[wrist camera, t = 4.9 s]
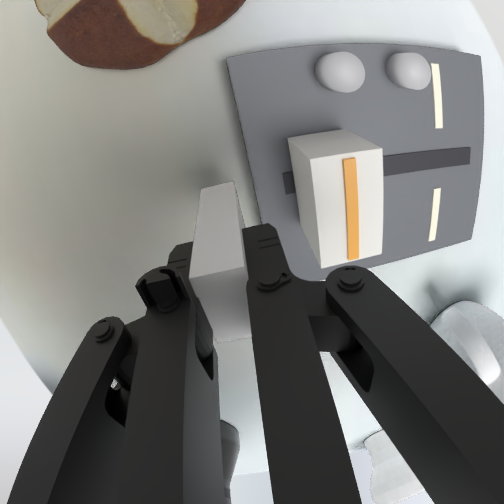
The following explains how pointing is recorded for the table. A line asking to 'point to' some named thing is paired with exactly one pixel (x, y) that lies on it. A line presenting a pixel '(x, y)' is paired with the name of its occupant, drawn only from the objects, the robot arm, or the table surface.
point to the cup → (389, 472)
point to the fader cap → (339, 194)
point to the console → (368, 137)
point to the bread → (129, 28)
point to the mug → (475, 340)
